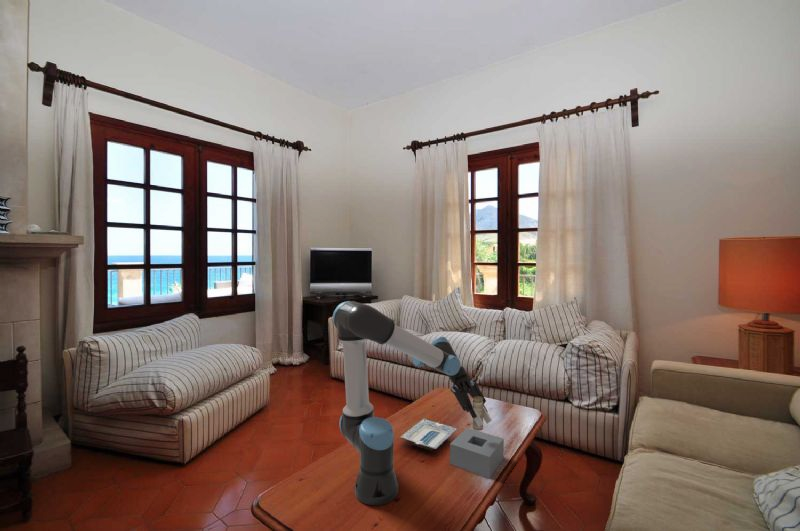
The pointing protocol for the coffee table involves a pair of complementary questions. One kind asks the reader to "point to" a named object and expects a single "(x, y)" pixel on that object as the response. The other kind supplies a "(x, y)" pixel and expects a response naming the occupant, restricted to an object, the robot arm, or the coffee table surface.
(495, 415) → the coffee table surface
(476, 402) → the peg
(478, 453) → the socket block
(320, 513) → the coffee table surface
